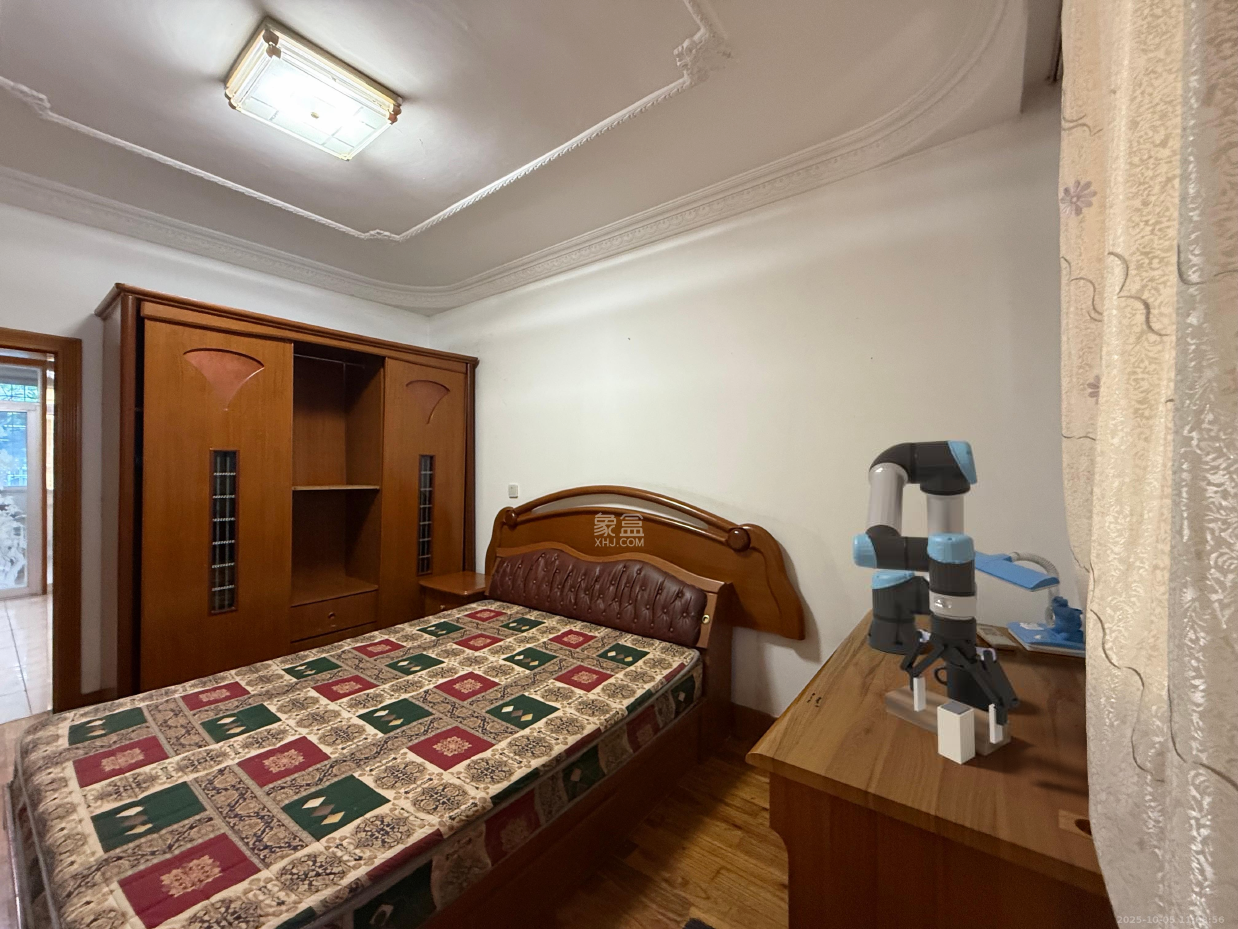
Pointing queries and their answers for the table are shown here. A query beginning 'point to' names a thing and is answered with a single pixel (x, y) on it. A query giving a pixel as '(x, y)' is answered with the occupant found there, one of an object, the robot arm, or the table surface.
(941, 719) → the block
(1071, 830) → the table surface
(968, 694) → the mug
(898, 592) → the robot arm
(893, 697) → the wooden plank
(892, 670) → the table surface
